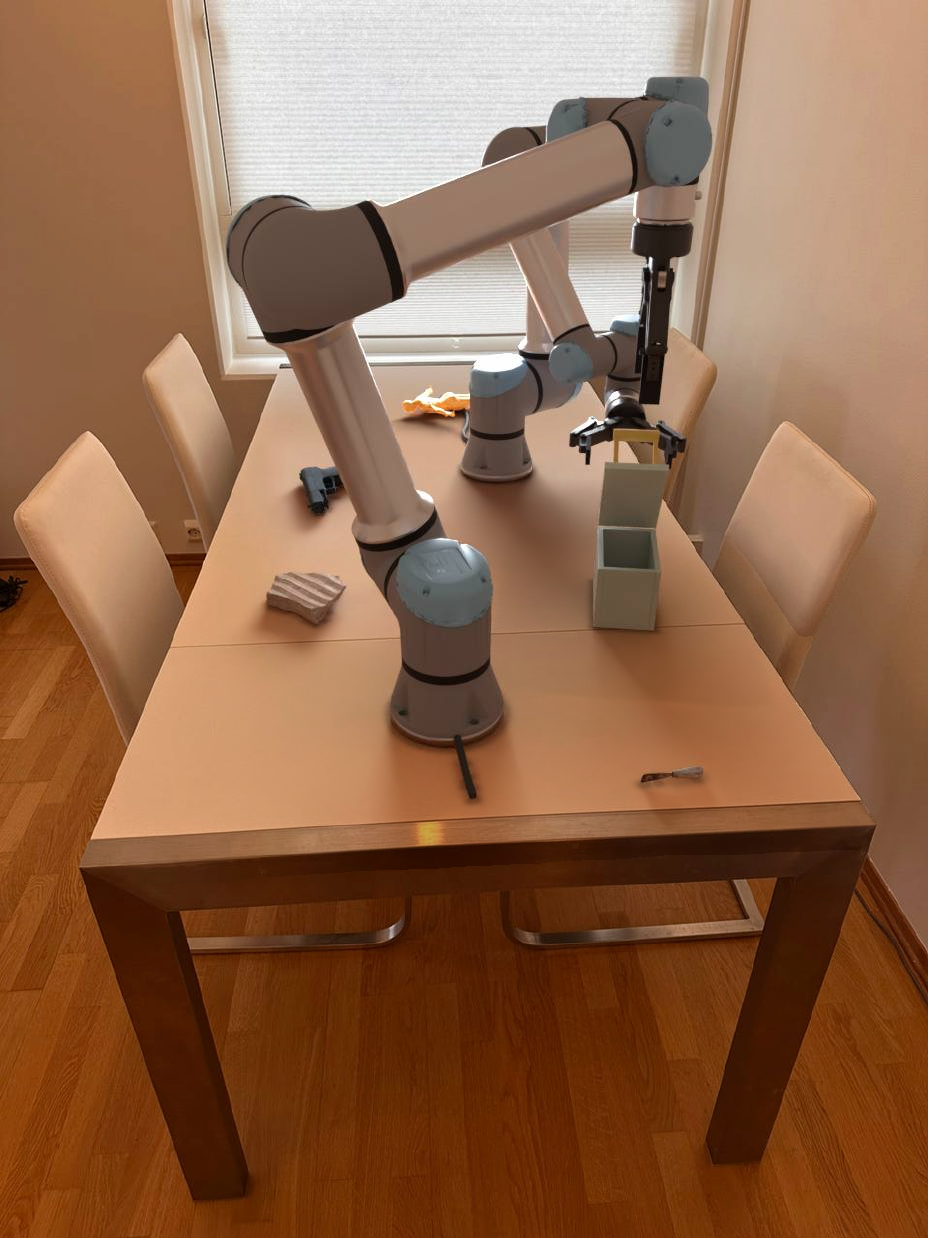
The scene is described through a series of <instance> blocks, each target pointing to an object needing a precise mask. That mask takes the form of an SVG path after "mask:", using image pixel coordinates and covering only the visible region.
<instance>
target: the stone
mask: <svg viewBox="0 0 928 1238" xmlns="http://www.w3.org/2000/svg"><path fill="white" fill-rule="evenodd" d="M346 589H347V585H346V583H345V582H343V580H341V579H340V575H332V574H329V573H326V572H320V571H318V572H315V571H314V572H308V573H306V572H300V571H289V572H287V573H281V572H279V573H277V574H275V576H274V579H273V581H272V584H271V587H270V590H268V591H267V592H266V594H265V597H266V600H265V604H266V605H267V606H268V605H269V606H271V607H275V608H278V609H281V610H282V611H289V612H292V613H296V614H297V615H299V616H301V617H302V618H304V619H305V620H307V621H309V622H311V623H312V624H315V625H319V624H320V622H321V621H323V620H324V619H325V618H326V615H327V612H328V611H329V609H330V607H332V606H333V605H334V603H335V602H336V601H338V600H339V599H340V598H341V596H342V595H343V593H344V591H345V590H346Z"/></svg>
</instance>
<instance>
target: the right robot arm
mask: <svg viewBox="0 0 928 1238" xmlns="http://www.w3.org/2000/svg"><path fill="white" fill-rule="evenodd" d="M546 128H547V124H545V125H544V124H543V125H535V126H534V125H533V126H532V125H531V126H511V127H508V128H505V129H503V130H501V131H499V132H498V133H497V134H495V135H494V136H493V137H492V139H491V140H490V141H489V142H488V144H487V145H486V148H485V149H484V152H483V154H482V157H481V161H480V168H483V167H486V166H488V165H491V164H493V163H496V162H499V161H501V160H504V159H506V158H509V157H512V156H514V155H517V154H519V153H522V152H525V151H527V150H530V149H532V148H535V147H538V146H540V145H543V144H545V143H546ZM480 168H479V169H480ZM570 221H571V220H570V219H568V220H566V221H563V222H561V223H558V224H556V225H553V226H551V227H548V228H546V229H543V230H541V231H539V232H536V233H534V234H531V235H529V236H526V237H524V238H521V239H519V240H516V241H514V242H511V243H509V244H508V245H509V247H510V249H511V252H512V254H513V256H514V258H515V261H516V263H517V265H518V267H519V270H520V272H521V274H522V277H523V279H524V281H525V337H524V339H523V340H522V341H521V342H520V343H519V345H518V354H516V353H515V354H514V353H501V354H492V355H488V356H485V357H483V358H480V359H478V360H477V361H475V363H474V364H473V365H472V366H471V369H470V374H469V383H468V391H469V392H468V394H470V406H469V412H468V410H467V408H464V409H462V410H461V411H463V413H464V414H465V423H464V426H463V429H462V431H461V435H462V437H463V439H465V440H466V441H467V442H466V444H465V448H464V451H463V454H462V457H461V462H460V464H461V465H460V466H461V471H462V474H464V475H465V476H466V477H469V478H471V479H473V480H475V481H476V480H477V481H479V482H480V481H481V482H487V483H507V482H508V483H509V482H514V481H518V480H521V479H524V478H525V477H527V476H528V475H530V474H531V472H532V470H533V458H532V455H531V453H530V449H529V445H528V442H527V439H526V434H525V430H526V428H525V427H526V417H528V416H532V415H535V414H538V413H541V412H545V411H549V410H554V409H559V408H560V407H563V406H565V405H566V404H569V403H571V402H573V401H574V400H575V398H576V399H577V397H578V396H579V394H580V393H581V391H582V389H583V386H584V383H587V382H589V381H592V380H595V379H598V378H601V377H605V376H606V378H605V386H604V389H603V401H604V420H603V421H598V420H597V418H596V417H595V416H590V417H588V420H587V421H585V422H584V423H582V424H581V425H580V426H578V427H576V428H575V429H573V430H572V431H570V432H569V441H568V447H569V448H576V447H578V453H579V454H585V455H584V457H585V460H584V461H585V462H584V465H585V466H590V465H591V455H592V447H594V446H596V445H599V444H601V443H604V442H607V443H610V442H614V441H613V430H614V429H637V430H659V431H660V436H659V442H658V450H661V451H663V457H664V463H665V465H669V470H671V469H672V466H673V459H677V458H678V453H680V454H684V453H686V447H687V439H688V438H687V437H685V436H684V435H683V434H681V433H679V432H678V431H676V430H675V429H673V428H672V427H670V426H669V425H667V424H666V422H665V420H661V419H660V420H657V422H656V423H655V424H650V422H649V421H647V415H646V408H645V404H638V399H639V389H640V379H641V374H634V369H635V358H636V348H637V338H638V327H639V326H643V325H640V323H639V318H640V317H639V315H636V314H621V315H617V316H615V317H614V318H613V319H612V320H611V322H610V327H609V331H608V332H604V333H600V334H595V333H594V330H593V328H592V326H591V324H590V322H589V319H588V318H587V314H586V313H585V310H584V307H583V306H582V303H581V301H580V299H579V296H578V295H577V292H576V290H575V287H574V285H573V283H572V280H571V278H570V276H569V261H570V226H571V225H570ZM443 395H444V394H441V395H440V398H441V397H442V396H443ZM468 427H469V436H467V435H466V431H467V429H468ZM622 442H624V443H625V442H627V441H622ZM638 443H640V444H642V445H643V444H648V445H650V446H652V447H653V442H638Z"/></svg>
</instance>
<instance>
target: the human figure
mask: <svg viewBox="0 0 928 1238" xmlns="http://www.w3.org/2000/svg"><path fill="white" fill-rule="evenodd" d="M424 391H425V392H423V393H422V394H420V395H418V396H416V398H415V399H414V400H404V401H403V402H402V411H404V412H405V413H410V414H412V413H414V412H417V408H418V409H420V410H421V411H423V412H424V413H427V414H439V415H443V416H444V417H449V416H450V417H451V418H452V417H453V418H454V417H455V416H456V414H455V411H463V410H462V409H464V408H465V409H467V408H470V394H469V393H468V394H460V393H457V394H455V393H453V392H446V393H444V394H442V395H443V396H442V397H441V396H440V398H434V397H429V396H430V395H432V394H433V392H434V391H433V389H432V385H429V387H428V389H424ZM450 410H452V411H450Z"/></svg>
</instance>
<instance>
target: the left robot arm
mask: <svg viewBox="0 0 928 1238" xmlns="http://www.w3.org/2000/svg"><path fill="white" fill-rule="evenodd" d="M709 102H710V85H709V83H708V81H707V80H706V79H705V78H704V77H702V76H651V77H649V78H648V79H647V80H646V82H645V85H644V90H643V93H642V96H635V97H584V96H580V97H577V98H565V99H561V100H559V101H558V102H557V103H555V104H554V106H553V107H552V109H551V111H550V113H549V116H548V119H547V123H546V125H547V128H546V143H545V144H543V145H540V146H538V147H535V148H532V149H530V150H527V151H525V152H522V153H519V154H517V155H514V156H512V157H509V158H506V159H504V160H501V161H499V162H496V163H493V164H491V165H488V166H486V167H483V168H478V169H475V170H473V171H471V172H468V173H464V174H462V175H460V176H457V177H455V178H452V179H449V180H447V181H444V182H442V183H439V184H437V185H434V186H432V187H431V186H430V187H429V188H426V189H423V190H421V191H419V192H416V193H415V192H414V193H413V194H410V195H408V196H406V197H403V198H400V199H397V200H395V201H393V202H392V201H391V202H390V203H387V204H383V205H382V204H380V203H379V202H376V201H374V200H373V199H370V198H369V199H366V200H362V201H361V202H358V203H355V204H352V205H349V206H345V207H341V208H335V209H325V210H323V209H322V210H320V209H319V210H318V209H315V208H314V206H312V205H311V204H310V203H308V202H307V201H305V200H304V199H301V198H299V197H297V196H293V195H290V194H268V195H267V194H266V195H263V196H259V197H256V198H255V199H252V200H251V201H249V202H247V203H246V204H245V205H244V206H242V207H241V209H240V210H239V211H238V212H236V214H235V215H234V217H233V218H232V220H231V222H230V225H229V226H228V230H227V233H226V238H225V258H226V264H227V267H228V270H229V272H230V274H231V277H232V279H233V280H234V281H235V282H236V284H237V285H238V286H239V287H240V288H241V290H242V291H243V294H244V295H245V298H246V300H247V303H248V305H249V307H250V309H251V311H252V313H253V316H254V318H255V321H256V322H257V324H258V327H259V329H260V331H261V333H262V336H263V337H264V340H265V343H266V344H268V345H270V346H271V347H275V348H277V349H279V350H282V351H283V352H285V355H286V357H287V360H288V361H289V364H290V367H291V369H292V371H293V373H294V376H295V378H296V380H297V382H298V384H299V387H300V389H301V391H302V395H303V396H304V398H305V401H306V403H307V405H308V407H309V410H310V412H311V415H312V416H313V419H314V421H315V424H316V425H317V428H318V430H319V432H320V434H321V437H322V439H323V441H324V443H325V445H326V448H327V450H328V453H329V455H330V457H331V460H332V462H333V464H334V466H336V469H337V471H338V473H339V475H340V478H341V480H342V482H343V485H344V486H343V487H344V489H345V491H346V493H347V496H348V498H349V501H350V503H351V505H352V507H353V510H354V512H355V514H356V515H355V516H354V519H353V521H352V523H351V529H350V530H351V533H352V536H353V538H354V540H355V542H356V545H357V546H358V550H359V551H358V552H359V555H360V561H361V563H362V566H363V568H364V570H365V572H366V573H367V575H368V576H369V578H370V579H371V580H372V582H374V584H375V586H376V588H377V589H378V590H379V592H380V594H381V595H382V597H383V598H384V600H385V602H386V603H387V604H388V606H389V608H390V610H391V611H392V613H393V614H394V616H395V618H396V619H397V622H398V627H399V633H400V634H399V635H400V655H401V667H400V669H399V672H398V675H397V678H396V681H395V684H394V687H393V690H392V693H391V696H390V704H389V705H390V718H391V721H392V724H393V725H394V727H395V728H396V729H397V731H398V732H399V733H400V734H402V735H403V736H404V737H406V738H407V739H409V740H411V741H413V742H415V743H417V744H420V745H421V744H422V745H425V746H430V747H437V748H454V747H455V749H456V754H457V759H458V763H459V767H460V770H461V774H462V778H463V782H464V785H465V788H466V792H467V795H468V798H469V800H475V799H477V797H478V793H477V790H476V787H475V784H474V781H473V777H472V775H471V770H470V767H469V763H468V759H467V754H466V751H465V747H464V746H467V745H471V744H473V743H476V742H480V741H481V740H483V739H485V738H486V737H488V736H489V735H491V734H492V733H493V732H494V731H495V730H496V729H498V727H499V726H500V724H501V722H502V720H503V717H504V697H503V693H502V690H501V687H500V685H499V682H498V679H497V677H496V674H495V672H494V668H493V666H492V664H491V654H492V653H491V651H492V649H491V648H492V647H491V645H492V611H493V610H492V608H493V607H492V605H493V596H494V585H493V578H492V573H491V567H490V565H489V563H488V561H487V559H486V557H485V556H484V555H483V554H482V553H481V551H479V550H478V549H476V548H475V547H473V546H472V545H470V544H467V543H463V544H460V541H459V540H457V539H449V538H448V536H447V534H446V532H445V528H444V527H443V523H442V521H441V518H440V515H439V512H438V510H437V508H436V505H435V503H434V500H433V498H432V497H431V496H430V495H429V494H428V493H426V492H424V491H420V490H418V489H417V487H416V484H415V482H414V479H413V477H412V474H411V472H410V469H409V466H408V464H407V461H406V458H405V456H404V453H403V450H402V448H401V446H400V442H399V440H398V437H397V434H396V432H395V428H394V427H393V424H392V421H391V419H390V417H389V413H388V411H387V408H386V406H385V403H384V401H383V399H382V395H381V392H380V390H379V387H378V384H377V383H376V379H375V377H374V375H373V371H372V370H371V367H370V365H369V361H368V359H367V356H366V353H365V350H364V348H363V346H362V343H361V340H360V338H359V335H358V332H357V330H356V327H355V325H354V322H355V320H356V318H358V317H360V316H363V315H365V314H368V313H369V312H373V311H375V310H377V309H380V308H382V307H385V306H386V305H389V304H392V303H394V302H397V301H400V300H401V299H404V298H406V296H407V294H408V293H409V290H410V287H411V285H412V284H413V283H415V282H417V281H420V280H423V279H426V278H427V277H430V276H433V275H435V274H437V273H440V272H442V271H444V270H447V269H449V268H452V267H454V266H457V265H460V264H462V263H465V262H466V261H470V260H472V259H474V258H476V257H480V256H482V255H484V254H486V253H489V252H492V251H494V250H496V249H499V248H501V247H503V246H506V245H509V243H511V242H514V241H516V240H519V239H521V238H524V237H526V236H529V235H531V234H534V233H536V232H539V231H541V230H543V229H546V228H548V227H551V226H553V225H556V224H558V223H561V222H563V221H566V220H568V219H571V220H572V219H573V218H575V217H578V216H581V215H583V214H585V213H588V212H590V211H593V210H595V209H598V208H600V207H603V206H605V205H607V204H610V203H612V202H615V201H618V200H620V199H622V198H623V199H624V198H625V197H627V196H630V195H633V194H634V201H633V212H632V213H633V214H632V215H633V217H634V218H636V219H637V220H636V221H634V223H633V224H632V228H631V242H630V251H631V252H632V254H634V255H636V256H639V257H643V258H645V266H644V267H642V268H641V279H640V280H641V289H640V290H641V292H640V293H641V298H640V305H639V310H638V316H639V317H640V318H639V323H640V325H643V326H639V327H638V338H637V348H636V358H635V369H634V374H641V379H640V389H639V399H638V404H644V405H654V406H655V405H656V406H659V405H660V402H661V394H662V385H663V377H664V376H663V375H664V366H665V360H666V359H665V357H666V355H667V353H668V351H669V347H668V341H669V339H668V338H669V325H670V311H671V304H672V299H673V286H674V284H675V278H676V271H674V268H673V267H671V260H672V259H674V258H683V257H687V256H688V255H689V254H690V253H691V251H692V243H693V237H694V236H693V235H694V228H695V226H694V225H693V223H692V222H690V220H692V219H693V218H694V217H695V214H696V208H697V204H696V201H699V200H702V199H703V192H702V191H701V190H698V189H699V182H700V175H701V173H702V172H703V171H704V169H705V168H706V166H707V164H708V162H709V159H710V157H711V153H712V150H713V149H712V148H713V133H712V126H711V123H710V121H709V118H708V117H709V116H708V115H709V105H710V104H709Z"/></svg>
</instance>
